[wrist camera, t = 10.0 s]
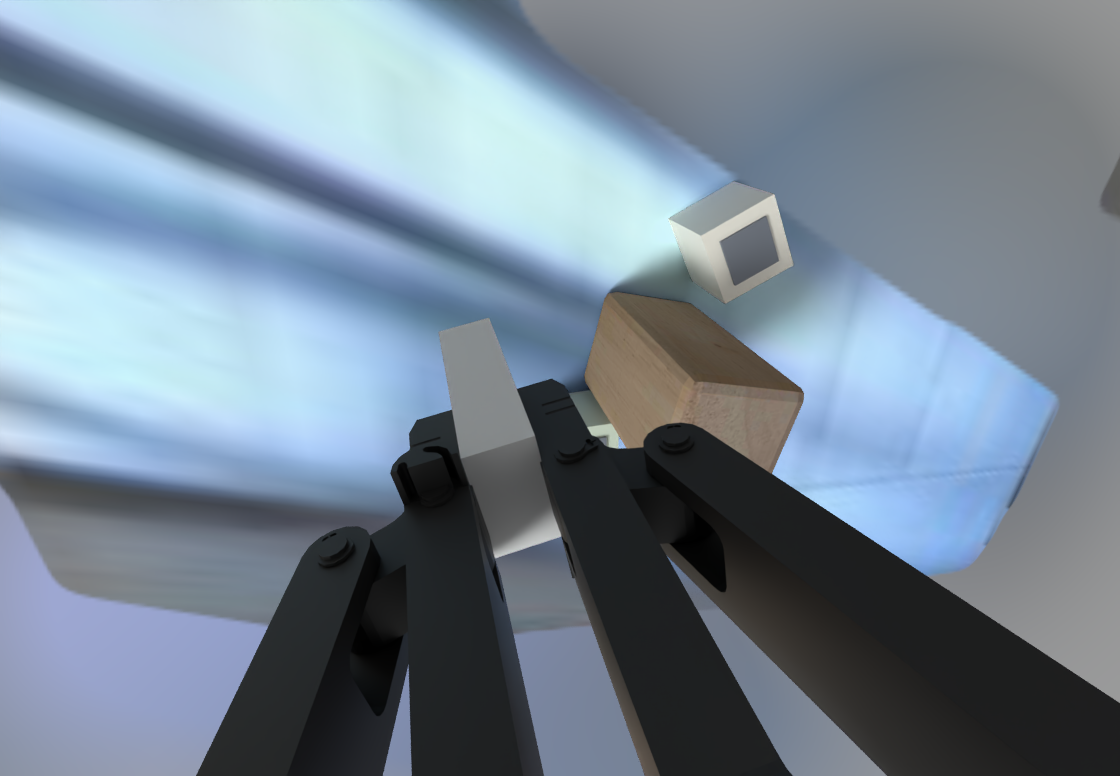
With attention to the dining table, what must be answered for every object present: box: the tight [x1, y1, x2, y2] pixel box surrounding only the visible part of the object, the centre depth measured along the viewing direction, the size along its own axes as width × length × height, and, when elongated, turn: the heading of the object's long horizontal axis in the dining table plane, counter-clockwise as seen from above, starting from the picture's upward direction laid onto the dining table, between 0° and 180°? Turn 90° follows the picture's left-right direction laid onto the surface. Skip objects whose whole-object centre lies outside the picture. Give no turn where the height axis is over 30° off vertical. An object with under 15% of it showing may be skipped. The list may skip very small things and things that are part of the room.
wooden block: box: [584, 292, 804, 474], centre depth 52 cm, size 10×10×20 cm
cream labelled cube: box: [668, 181, 793, 304], centre depth 54 cm, size 7×7×7 cm
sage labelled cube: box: [569, 390, 619, 448], centre depth 60 cm, size 7×7×7 cm
